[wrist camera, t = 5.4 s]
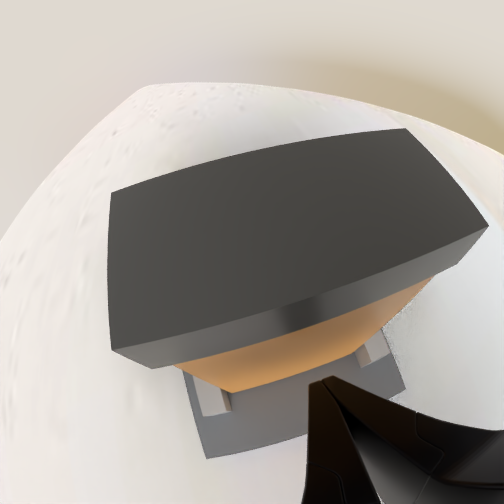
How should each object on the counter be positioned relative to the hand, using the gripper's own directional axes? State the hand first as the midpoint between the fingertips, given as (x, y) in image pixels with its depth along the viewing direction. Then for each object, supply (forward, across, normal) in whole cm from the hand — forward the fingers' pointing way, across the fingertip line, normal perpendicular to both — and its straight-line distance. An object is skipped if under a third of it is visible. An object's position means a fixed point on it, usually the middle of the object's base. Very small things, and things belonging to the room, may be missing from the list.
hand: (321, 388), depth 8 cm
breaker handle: (+7, 0, +3) cm, 7 cm away
